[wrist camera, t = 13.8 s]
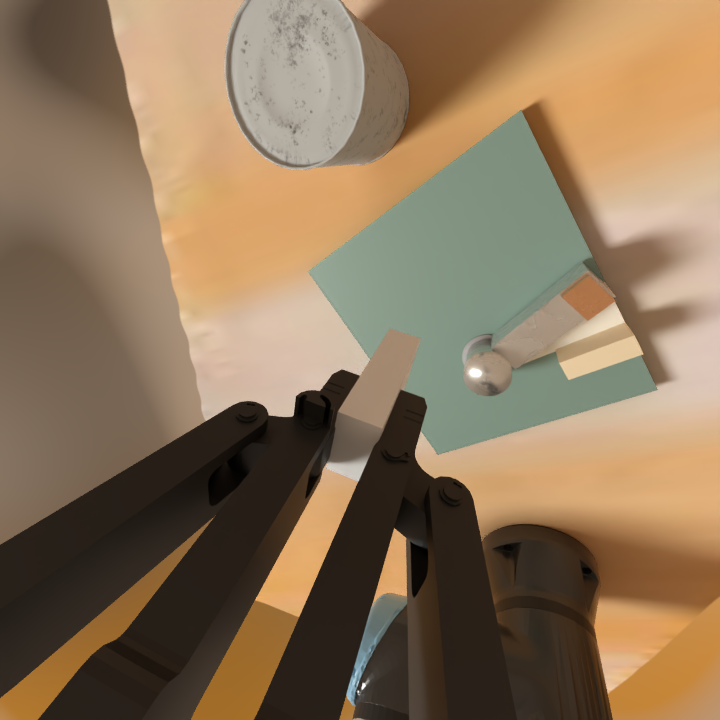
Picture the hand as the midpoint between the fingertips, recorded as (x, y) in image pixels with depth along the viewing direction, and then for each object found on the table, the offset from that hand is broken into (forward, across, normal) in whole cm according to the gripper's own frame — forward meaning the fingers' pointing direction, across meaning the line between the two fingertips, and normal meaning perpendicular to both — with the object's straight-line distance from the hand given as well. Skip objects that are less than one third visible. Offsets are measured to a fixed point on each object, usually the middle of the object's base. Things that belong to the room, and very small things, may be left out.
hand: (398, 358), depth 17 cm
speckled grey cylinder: (+23, -12, +10) cm, 27 cm away
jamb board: (+22, +4, -6) cm, 24 cm away
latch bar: (+21, +9, -5) cm, 23 cm away
